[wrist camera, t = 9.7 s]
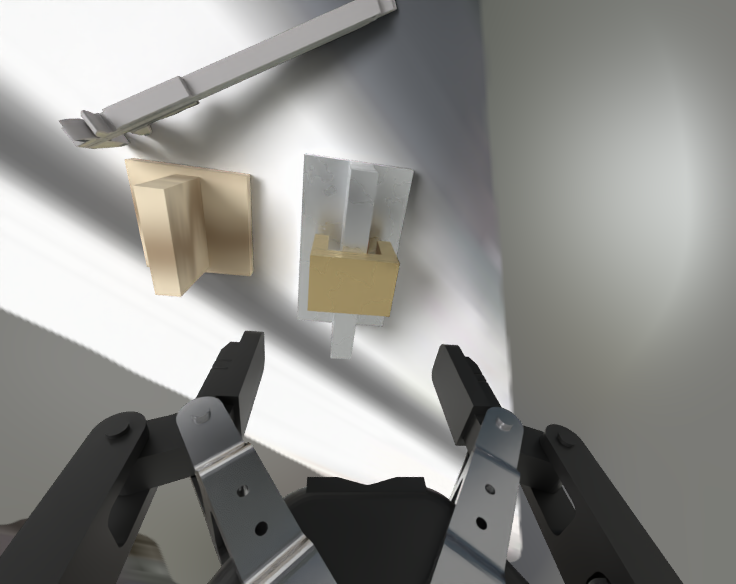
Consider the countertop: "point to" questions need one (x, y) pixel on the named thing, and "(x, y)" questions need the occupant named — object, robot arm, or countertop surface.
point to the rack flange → (348, 225)
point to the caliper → (216, 77)
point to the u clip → (352, 279)
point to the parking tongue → (191, 222)
